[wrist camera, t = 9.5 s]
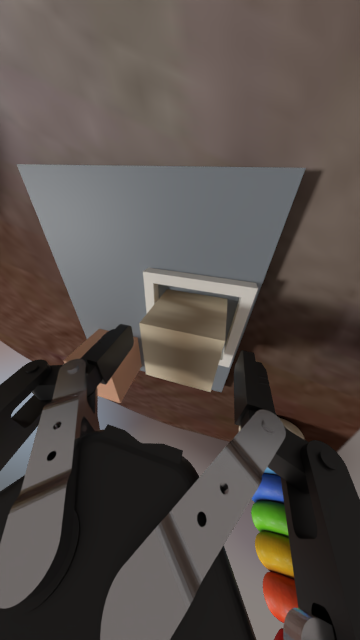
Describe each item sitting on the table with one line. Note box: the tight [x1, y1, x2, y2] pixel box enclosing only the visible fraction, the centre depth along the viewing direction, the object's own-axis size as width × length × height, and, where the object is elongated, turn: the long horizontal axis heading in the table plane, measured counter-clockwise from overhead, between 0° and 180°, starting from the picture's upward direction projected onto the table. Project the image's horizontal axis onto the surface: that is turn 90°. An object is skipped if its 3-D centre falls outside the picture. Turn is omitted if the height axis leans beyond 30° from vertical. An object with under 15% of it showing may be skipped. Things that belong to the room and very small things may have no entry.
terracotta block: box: [64, 329, 142, 403], centre depth 18 cm, size 5×5×5 cm
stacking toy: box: [239, 418, 305, 640], centre depth 15 cm, size 8×8×19 cm
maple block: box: [139, 289, 227, 392], centre depth 12 cm, size 5×5×5 cm
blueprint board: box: [17, 164, 306, 392], centre depth 15 cm, size 18×20×2 cm
